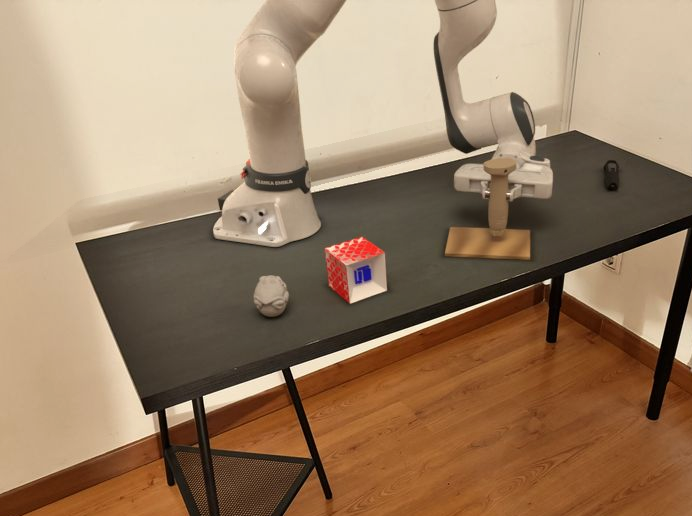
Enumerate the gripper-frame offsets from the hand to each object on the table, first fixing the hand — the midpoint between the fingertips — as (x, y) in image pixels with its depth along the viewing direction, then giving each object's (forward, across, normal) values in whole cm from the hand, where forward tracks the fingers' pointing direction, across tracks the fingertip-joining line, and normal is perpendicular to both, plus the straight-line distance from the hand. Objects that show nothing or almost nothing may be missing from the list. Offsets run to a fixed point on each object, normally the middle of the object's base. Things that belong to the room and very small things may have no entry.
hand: (497, 196), depth 142 cm
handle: (-1, 0, +9) cm, 9 cm away
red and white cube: (+22, -22, +11) cm, 33 cm away
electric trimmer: (-41, +22, +11) cm, 48 cm away
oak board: (-1, -2, +11) cm, 11 cm away
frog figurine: (+34, -34, +11) cm, 49 cm away
